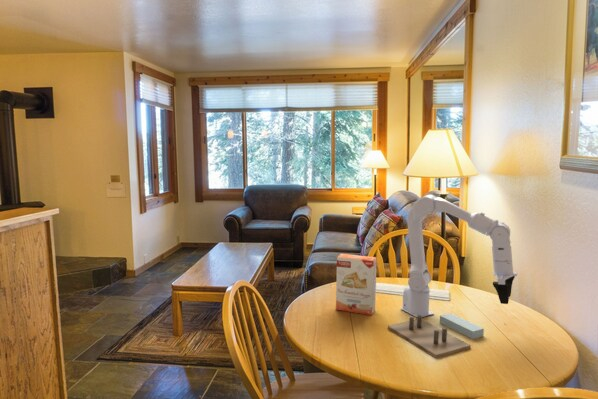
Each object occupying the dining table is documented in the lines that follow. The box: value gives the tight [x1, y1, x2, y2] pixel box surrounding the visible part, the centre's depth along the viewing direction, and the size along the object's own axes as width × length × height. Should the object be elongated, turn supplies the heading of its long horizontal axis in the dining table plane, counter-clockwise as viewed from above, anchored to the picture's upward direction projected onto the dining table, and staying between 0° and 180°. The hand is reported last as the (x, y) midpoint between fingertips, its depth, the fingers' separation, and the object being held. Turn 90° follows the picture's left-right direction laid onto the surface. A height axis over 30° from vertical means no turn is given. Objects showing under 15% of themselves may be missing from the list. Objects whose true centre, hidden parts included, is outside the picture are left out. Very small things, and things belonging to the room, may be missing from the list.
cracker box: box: [335, 253, 378, 316], centre depth 150 cm, size 14×6×21 cm, turn 68°
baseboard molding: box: [376, 282, 450, 302], centre depth 170 cm, size 31×3×12 cm
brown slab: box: [387, 315, 472, 359], centre depth 128 cm, size 22×14×5 cm, turn 26°
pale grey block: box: [439, 312, 485, 340], centre depth 135 cm, size 14×5×3 cm, turn 26°
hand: (505, 299), depth 134 cm, fingers open, 7 cm apart
